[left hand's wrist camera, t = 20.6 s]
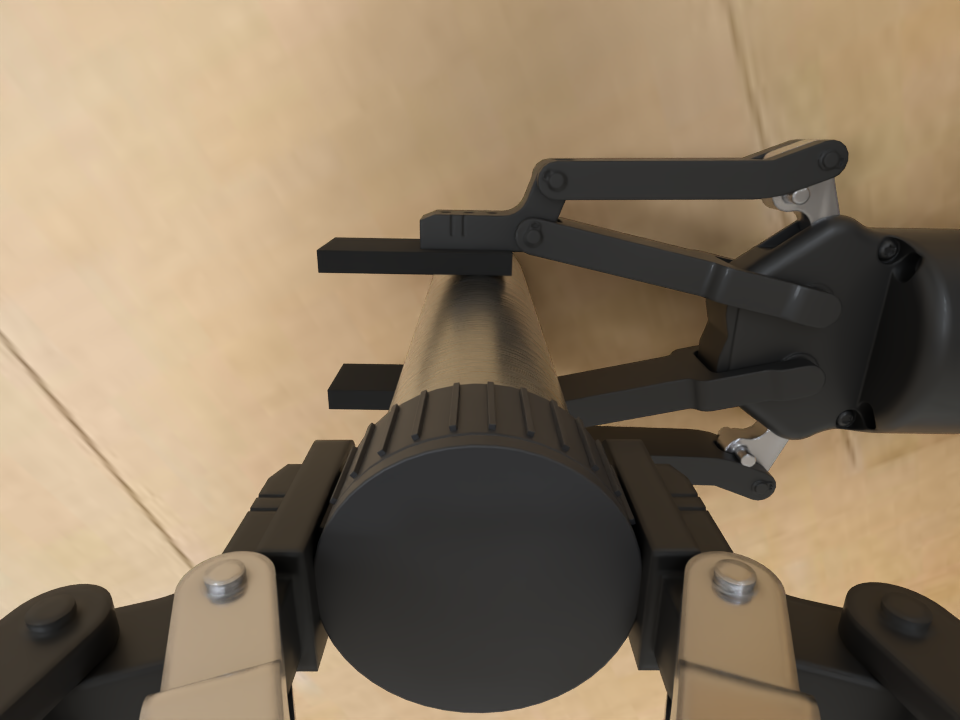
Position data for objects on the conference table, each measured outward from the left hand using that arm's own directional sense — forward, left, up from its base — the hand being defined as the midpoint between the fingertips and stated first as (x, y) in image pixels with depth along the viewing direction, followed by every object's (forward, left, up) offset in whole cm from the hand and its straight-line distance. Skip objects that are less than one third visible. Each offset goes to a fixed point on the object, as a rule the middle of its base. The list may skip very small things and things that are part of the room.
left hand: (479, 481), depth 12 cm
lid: (0, 0, +3) cm, 3 cm away
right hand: (+4, -4, -11) cm, 12 cm away
